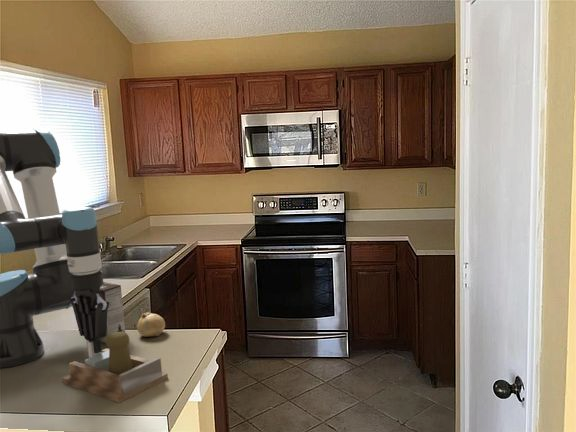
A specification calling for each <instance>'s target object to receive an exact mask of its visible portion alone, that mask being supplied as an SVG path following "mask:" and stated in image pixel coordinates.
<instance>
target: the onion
mask: <svg viewBox="0 0 576 432" xmlns="http://www.w3.org/2000/svg"><path fill="white" fill-rule="evenodd" d="M137 322H138V323H137V326H136V329H137V332H138V334H139V335H140V336H142V337H144V338H145V337H159V336H160V335H161V334H162V333H163V331H164V330H165V327H166V322H165V319H164V318H163V317H162V316H160V315H159V314H157V313H152V312H149V311H147V312H145V313H142V314H141V317H140V318H139V320H138V321H137Z"/></svg>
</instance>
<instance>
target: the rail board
mask: <svg viewBox="0 0 576 432" xmlns="http://www.w3.org/2000/svg"><path fill="white" fill-rule="evenodd" d="M108 350H109V348H108V347H107V348H106V347H105V348H104V349H102V353H103V352H106V351H108ZM130 358H131V362H132V366H133V369H131V370H128V371H126V372H124V373H122V374H120V375H117V374H114V373H111V372H108V371H105V370H101V369H98V368H95V367H92V366H89V365H85V363H83V362H80V361H79V362H78V361H76V360H74V361H72V362H69V363H68V367H69V368H68V369H69V374H66V375H65V376H62V377H61V382H62V383H63V384H66V385H68V386H72V387H74V388H77V389H80V390H83V391H84V392H88V393H91V394H94V395H96V396H99V397H102V398H105V399H107V400H109V401H113V402H116V403H119V404H120V403H123V402H124V401H126V400H128V399H130V398H132V397H133V396H136V395H138V394H140V393H141V392H143V391H145V390H147V389H150V388H152V387H154V386H155V385H157V384H160V383H162V382H163V381H165V380H168V379H169V377H168V373H167V372H164V371H162V369H163V368H162V361H161V358H160V357H154V358H152V359H151V360H150V359H147V358H144V357H140V356H135V355H133V354H130Z"/></svg>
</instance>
